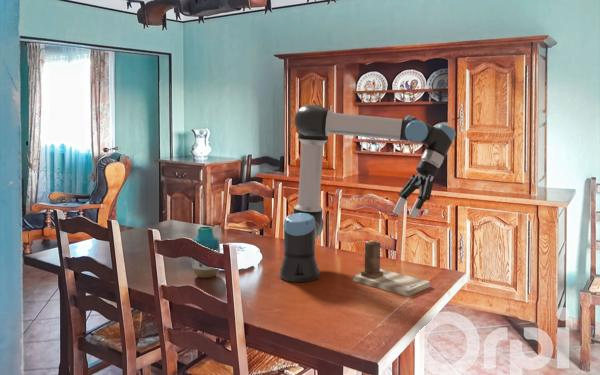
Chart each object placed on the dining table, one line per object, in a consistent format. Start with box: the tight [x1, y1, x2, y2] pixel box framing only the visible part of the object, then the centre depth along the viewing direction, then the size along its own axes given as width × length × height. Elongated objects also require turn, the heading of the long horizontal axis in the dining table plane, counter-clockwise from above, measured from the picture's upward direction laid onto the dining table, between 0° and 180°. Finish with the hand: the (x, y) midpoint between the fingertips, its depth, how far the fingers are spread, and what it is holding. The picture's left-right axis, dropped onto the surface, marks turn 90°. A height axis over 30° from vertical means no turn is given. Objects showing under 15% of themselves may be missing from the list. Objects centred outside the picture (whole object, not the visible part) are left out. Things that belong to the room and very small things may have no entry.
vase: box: [191, 225, 221, 279], centre depth 205 cm, size 11×11×19 cm
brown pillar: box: [360, 239, 383, 279], centre depth 200 cm, size 6×6×13 cm
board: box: [352, 268, 431, 297], centre depth 198 cm, size 24×14×2 cm, turn 46°
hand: (403, 215), depth 198 cm, fingers open, 13 cm apart
